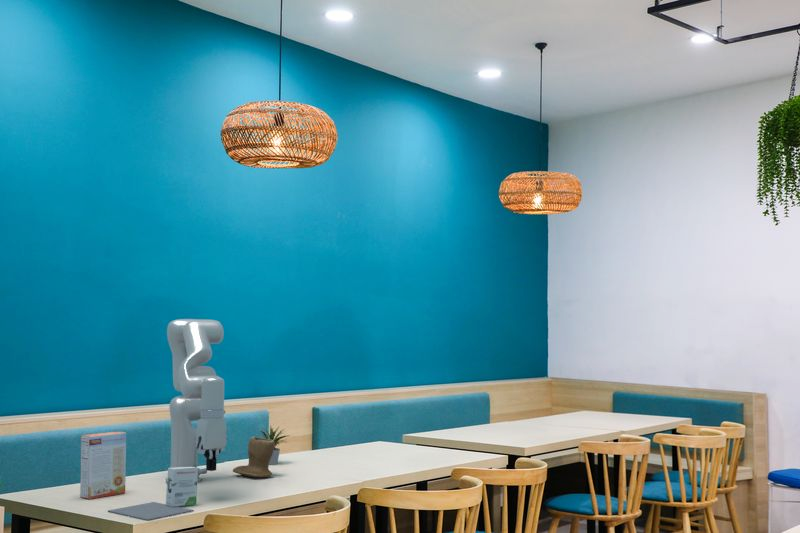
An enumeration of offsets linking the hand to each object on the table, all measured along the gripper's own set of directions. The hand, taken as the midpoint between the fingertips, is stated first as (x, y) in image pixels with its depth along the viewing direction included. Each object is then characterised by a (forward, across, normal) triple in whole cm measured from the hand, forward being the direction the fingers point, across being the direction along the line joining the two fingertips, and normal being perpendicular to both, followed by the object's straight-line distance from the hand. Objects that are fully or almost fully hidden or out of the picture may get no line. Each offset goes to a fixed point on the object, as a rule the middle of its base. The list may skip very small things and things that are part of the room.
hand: (211, 470), depth 286 cm
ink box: (+10, +12, 0) cm, 15 cm away
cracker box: (+10, +18, -34) cm, 40 cm away
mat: (+10, +24, 0) cm, 26 cm away
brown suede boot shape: (+10, -41, -22) cm, 47 cm away
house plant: (+10, -64, -38) cm, 75 cm away
